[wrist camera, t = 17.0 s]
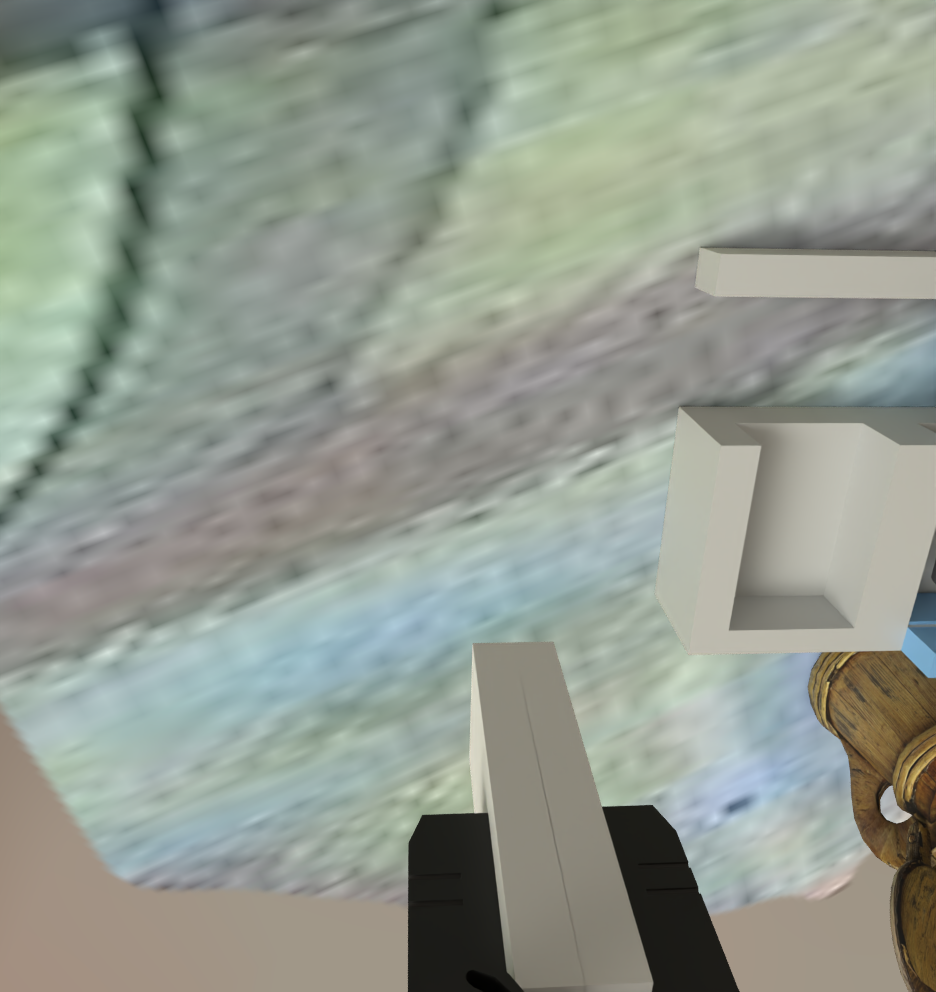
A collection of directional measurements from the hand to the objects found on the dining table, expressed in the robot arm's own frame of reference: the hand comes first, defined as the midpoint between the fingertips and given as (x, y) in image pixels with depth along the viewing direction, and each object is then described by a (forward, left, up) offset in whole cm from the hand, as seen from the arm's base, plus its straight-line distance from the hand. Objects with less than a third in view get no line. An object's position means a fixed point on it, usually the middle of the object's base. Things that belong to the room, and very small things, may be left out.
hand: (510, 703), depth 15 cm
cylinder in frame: (+5, +24, -29) cm, 38 cm away
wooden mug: (+23, +27, -30) cm, 46 cm away
